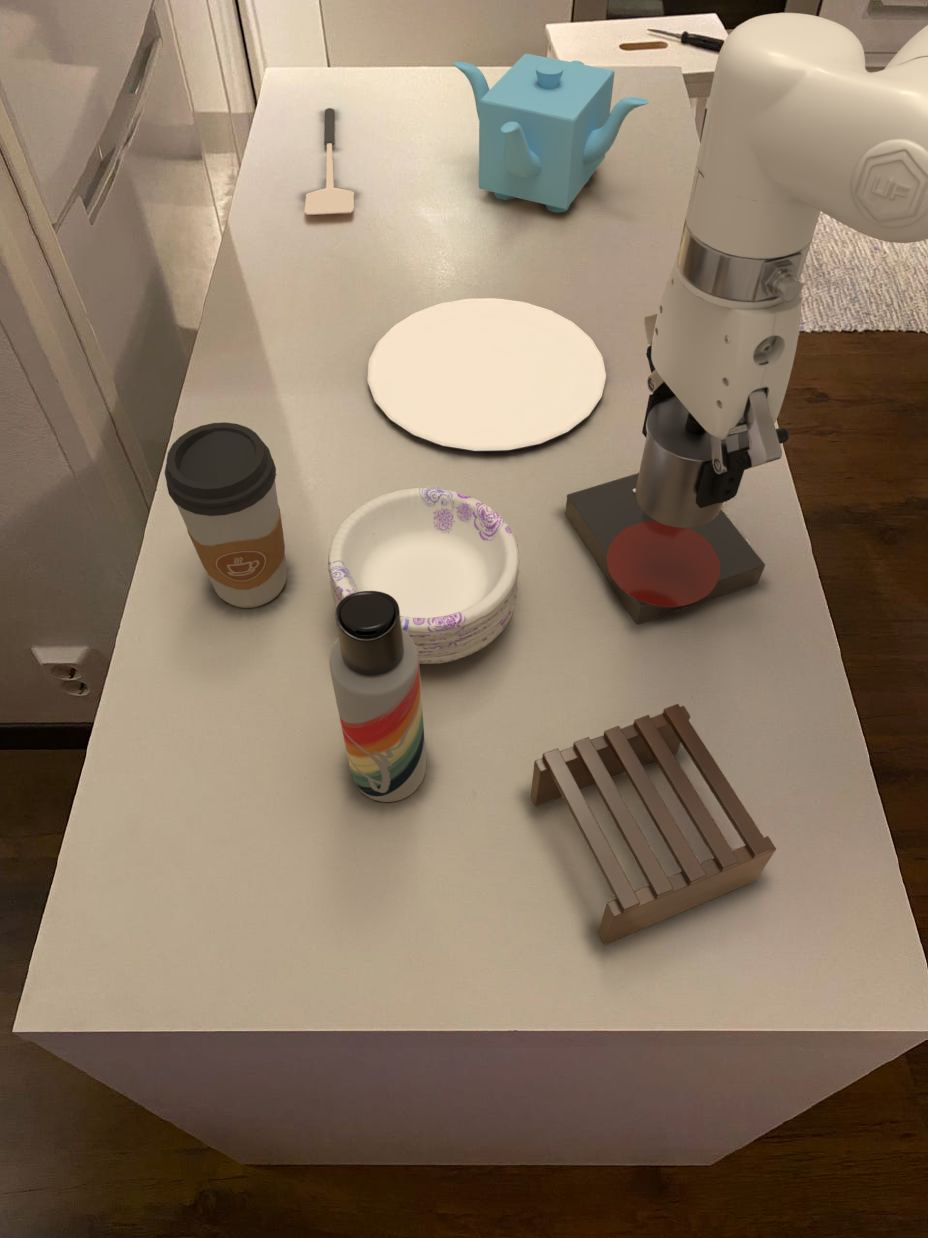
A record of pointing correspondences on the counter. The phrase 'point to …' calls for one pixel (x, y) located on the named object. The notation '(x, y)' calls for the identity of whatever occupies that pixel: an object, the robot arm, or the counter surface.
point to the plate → (486, 375)
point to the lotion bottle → (378, 696)
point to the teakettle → (545, 128)
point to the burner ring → (663, 564)
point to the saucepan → (677, 465)
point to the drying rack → (628, 755)
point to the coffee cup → (230, 510)
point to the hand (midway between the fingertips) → (687, 464)
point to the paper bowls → (431, 567)
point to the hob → (617, 509)
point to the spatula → (329, 181)
